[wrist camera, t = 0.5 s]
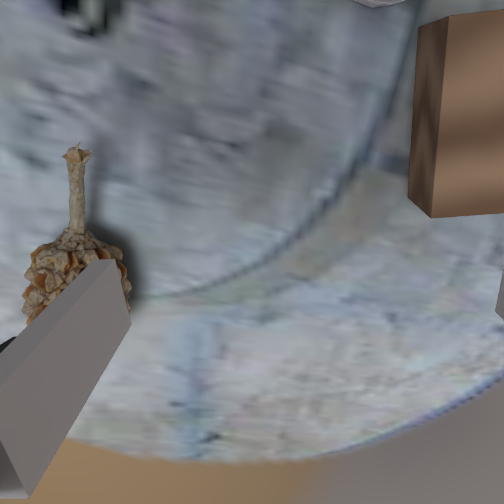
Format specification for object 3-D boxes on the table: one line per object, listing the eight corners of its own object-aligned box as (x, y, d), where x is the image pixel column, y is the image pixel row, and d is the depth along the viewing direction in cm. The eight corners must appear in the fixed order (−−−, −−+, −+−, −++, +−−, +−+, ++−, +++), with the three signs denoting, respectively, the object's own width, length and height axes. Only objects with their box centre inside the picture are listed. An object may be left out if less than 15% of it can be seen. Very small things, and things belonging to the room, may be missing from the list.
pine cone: (147, 332, 44) (114, 396, 35) (65, 323, 45) (11, 385, 36) (140, 134, 35) (92, 153, 26) (37, 125, 36) (-45, 140, 27)
